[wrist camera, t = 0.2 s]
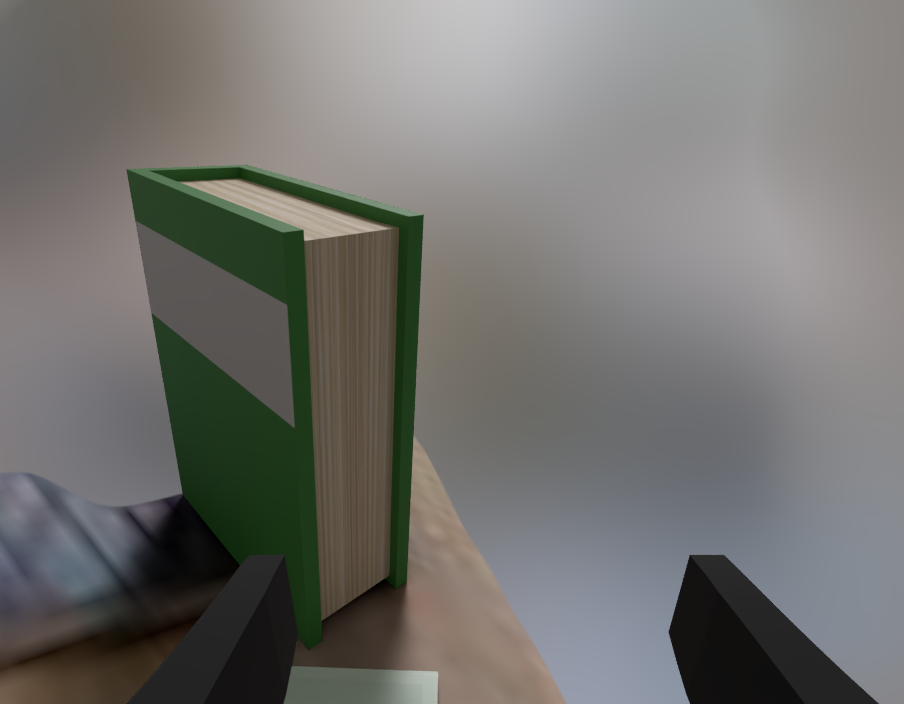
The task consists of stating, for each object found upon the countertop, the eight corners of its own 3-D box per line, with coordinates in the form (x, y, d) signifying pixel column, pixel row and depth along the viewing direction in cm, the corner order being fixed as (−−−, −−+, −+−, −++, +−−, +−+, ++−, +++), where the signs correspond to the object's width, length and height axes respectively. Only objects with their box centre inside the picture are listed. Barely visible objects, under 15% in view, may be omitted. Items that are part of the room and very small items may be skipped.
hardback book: (406, 581, 37) (423, 214, 26) (308, 650, 32) (282, 232, 21) (271, 457, 47) (246, 164, 37) (182, 494, 43) (126, 169, 32)
